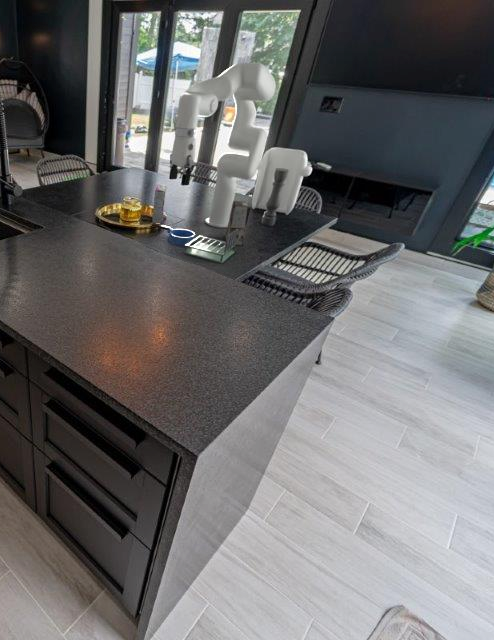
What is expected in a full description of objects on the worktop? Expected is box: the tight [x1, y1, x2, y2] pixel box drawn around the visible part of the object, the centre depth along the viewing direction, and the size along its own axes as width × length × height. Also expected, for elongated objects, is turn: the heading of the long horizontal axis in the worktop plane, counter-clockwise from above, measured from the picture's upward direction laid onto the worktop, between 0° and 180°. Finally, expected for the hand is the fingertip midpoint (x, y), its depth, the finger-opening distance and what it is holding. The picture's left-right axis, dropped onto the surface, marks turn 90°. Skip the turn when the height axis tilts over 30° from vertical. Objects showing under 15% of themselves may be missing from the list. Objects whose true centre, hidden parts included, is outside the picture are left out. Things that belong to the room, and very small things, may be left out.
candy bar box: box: [151, 184, 168, 225], centre depth 190 cm, size 11×5×16 cm, turn 168°
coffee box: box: [225, 200, 252, 246], centre depth 172 cm, size 9×6×16 cm
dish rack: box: [183, 229, 238, 264], centre depth 162 cm, size 14×16×10 cm
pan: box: [150, 222, 196, 247], centre depth 176 cm, size 11×20×5 cm, turn 54°
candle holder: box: [260, 168, 289, 227], centre depth 190 cm, size 6×6×25 cm
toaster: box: [251, 146, 313, 216], centre depth 208 cm, size 27×11×30 cm, turn 58°
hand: (178, 182), depth 157 cm, fingers open, 9 cm apart
